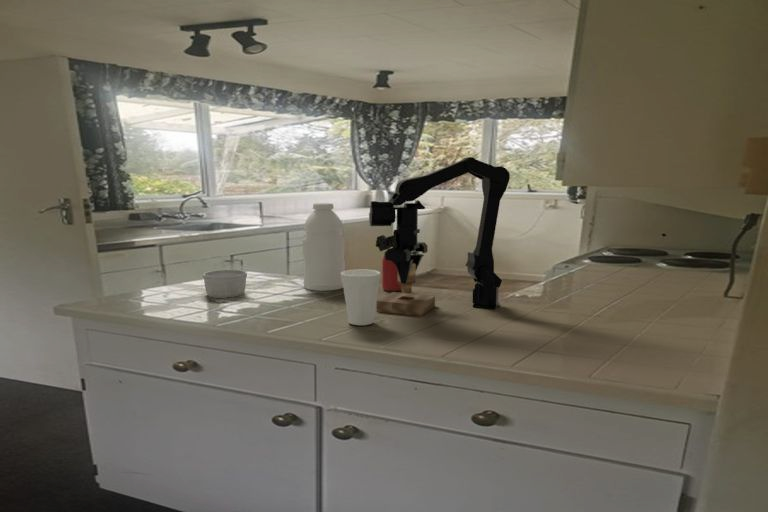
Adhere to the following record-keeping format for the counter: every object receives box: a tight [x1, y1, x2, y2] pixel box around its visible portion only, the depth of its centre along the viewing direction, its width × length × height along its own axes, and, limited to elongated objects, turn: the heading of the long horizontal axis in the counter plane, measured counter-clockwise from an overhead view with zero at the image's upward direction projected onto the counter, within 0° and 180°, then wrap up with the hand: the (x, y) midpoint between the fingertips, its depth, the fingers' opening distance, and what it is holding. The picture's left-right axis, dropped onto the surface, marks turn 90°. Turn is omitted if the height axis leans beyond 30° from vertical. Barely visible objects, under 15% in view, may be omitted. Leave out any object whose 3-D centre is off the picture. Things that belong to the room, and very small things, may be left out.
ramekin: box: [202, 269, 248, 299], centre depth 166 cm, size 13×13×7 cm
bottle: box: [302, 202, 346, 292], centre depth 176 cm, size 14×14×28 cm
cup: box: [341, 268, 382, 326], centre depth 133 cm, size 10×10×13 cm
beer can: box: [381, 252, 402, 293], centre depth 173 cm, size 7×7×12 cm
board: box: [376, 291, 436, 317], centre depth 148 cm, size 13×12×3 cm
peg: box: [397, 263, 417, 294], centre depth 147 cm, size 5×5×8 cm
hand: (406, 281), depth 147 cm, fingers closed on peg, 5 cm apart
